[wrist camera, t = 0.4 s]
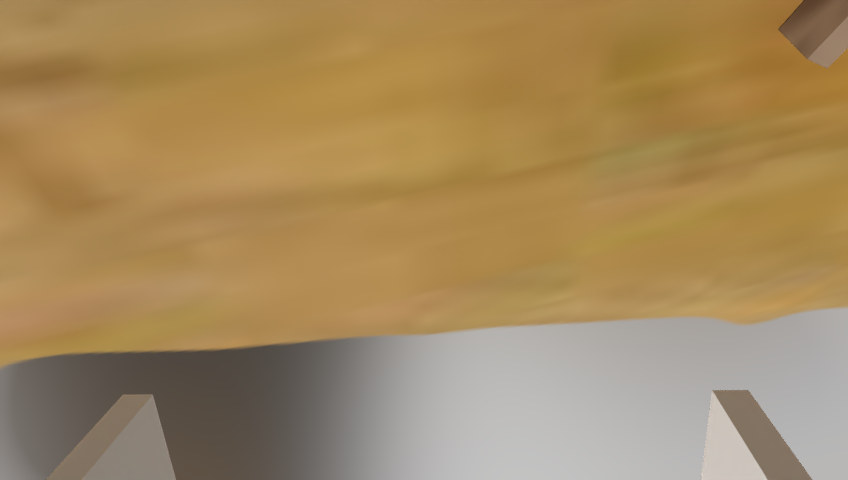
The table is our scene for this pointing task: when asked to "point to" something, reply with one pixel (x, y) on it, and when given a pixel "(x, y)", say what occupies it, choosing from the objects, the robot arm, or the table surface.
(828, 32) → the lane walls
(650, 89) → the table surface
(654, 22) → the table surface
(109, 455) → the robot arm
